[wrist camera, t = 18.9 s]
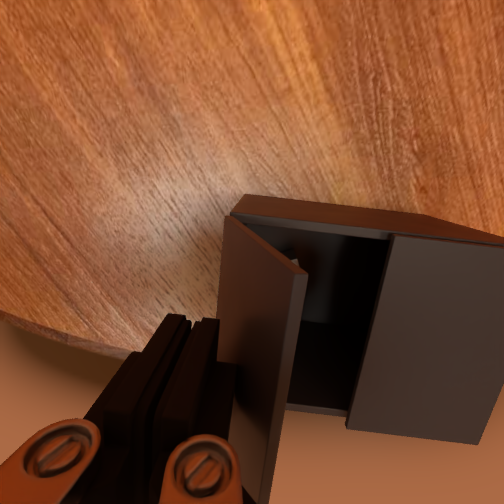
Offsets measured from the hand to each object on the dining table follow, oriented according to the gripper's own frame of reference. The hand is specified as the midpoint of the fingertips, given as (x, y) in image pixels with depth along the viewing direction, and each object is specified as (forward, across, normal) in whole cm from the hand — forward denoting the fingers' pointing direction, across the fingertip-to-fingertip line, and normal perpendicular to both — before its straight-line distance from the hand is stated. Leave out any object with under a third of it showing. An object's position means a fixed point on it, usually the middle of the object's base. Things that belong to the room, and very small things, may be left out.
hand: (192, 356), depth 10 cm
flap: (0, -2, 0) cm, 2 cm away
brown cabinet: (+11, -6, 0) cm, 13 cm away
